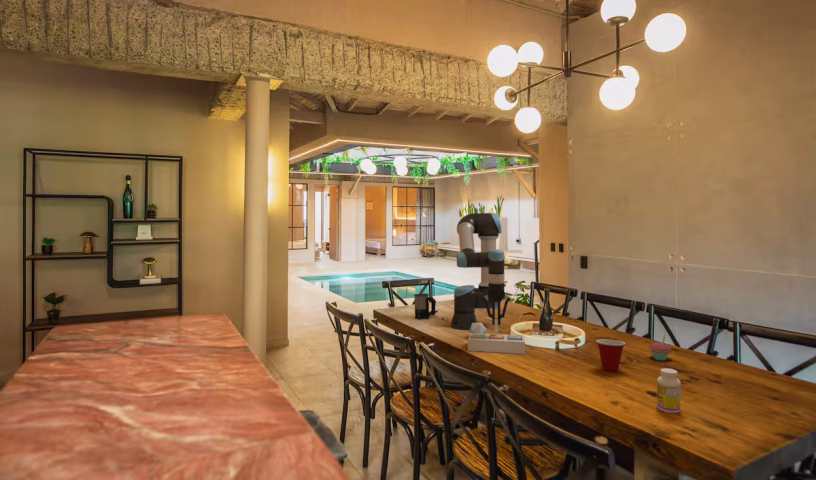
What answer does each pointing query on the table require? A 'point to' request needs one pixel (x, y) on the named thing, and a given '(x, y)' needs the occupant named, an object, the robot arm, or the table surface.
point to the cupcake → (660, 350)
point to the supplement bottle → (668, 391)
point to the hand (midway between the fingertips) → (496, 331)
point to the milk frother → (424, 306)
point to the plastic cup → (610, 354)
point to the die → (477, 328)
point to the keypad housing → (496, 344)
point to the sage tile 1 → (478, 335)
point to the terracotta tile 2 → (496, 336)
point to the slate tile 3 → (514, 337)
